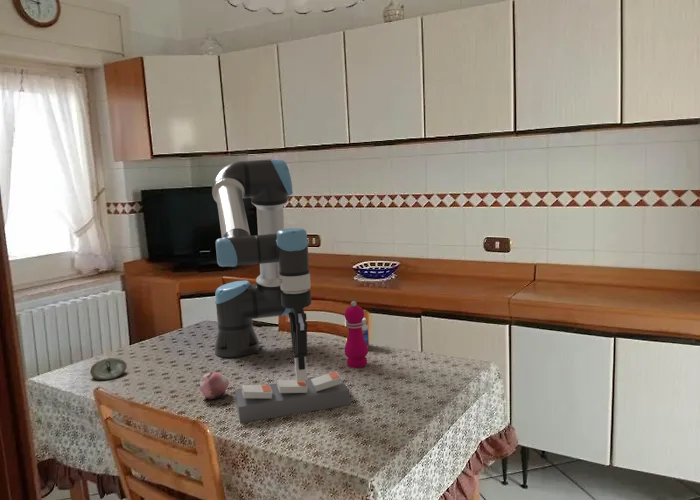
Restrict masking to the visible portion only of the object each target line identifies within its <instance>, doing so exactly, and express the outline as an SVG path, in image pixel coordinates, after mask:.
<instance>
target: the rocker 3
mask: <svg viewBox="0 0 700 500" xmlns="http://www.w3.org/2000/svg"><path fill="white" fill-rule="evenodd" d="M310 379H311V378H310ZM341 379H342V378H341V375H340V374H339V373H338V372H337V371H335V370H334V371H332V372H329V373H326V374H322V375H319V376H317V377H313V379H311V382H312V385H313V387H314V389H315V390H316V392H317V391H320V390H323V389H326V388H329V387H332V386H335V385H338V384H341V383H342V381H343V379H342V380H341Z"/></svg>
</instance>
